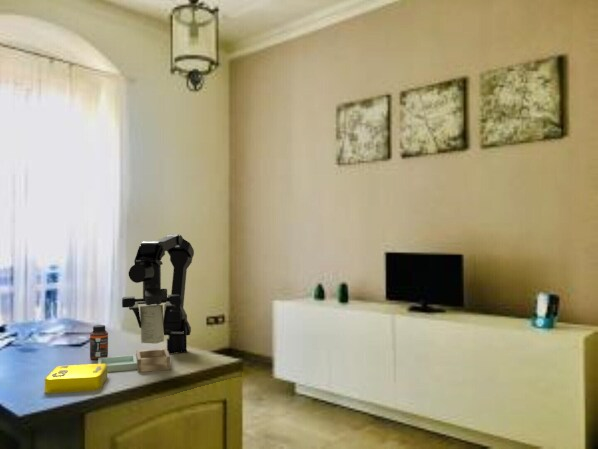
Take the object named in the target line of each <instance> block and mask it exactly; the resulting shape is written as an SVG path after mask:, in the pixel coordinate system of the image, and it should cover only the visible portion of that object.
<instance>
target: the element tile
mask: <svg viewBox="0 0 598 449" xmlns="http://www.w3.org/2000/svg"><path fill="white" fill-rule="evenodd" d="M107 380H108V372H107V365H106V364H98V363H90V364H88V363H87V364H71V365H58V366H56V367H55V368H54V369H52V370H51V372H49V374H48V375H47V376H46V377H45V378H44V393H45V394H61V393H63V394H65V393H78V392H79V391H81V392H92V391H93V390H94V391H98V389H99V390H100V388H101V389H102V388H103V386H104V384H105V383H104V382H106V381H107ZM64 392H65V393H64Z"/></svg>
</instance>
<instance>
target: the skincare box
mask: <svg viewBox="0 0 598 449" xmlns="http://www.w3.org/2000/svg"><path fill="white" fill-rule="evenodd" d="M139 314H140V321H141V328H140V342H141V344H160V343H163V342H164V341H165V339H164V338H165V335H164V328H163V316H164V306H163V304H159V305H157V304H151V305H146V304H142V305H140V306H139Z"/></svg>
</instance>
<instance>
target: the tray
mask: <svg viewBox="0 0 598 449" xmlns="http://www.w3.org/2000/svg"><path fill="white" fill-rule="evenodd" d="M97 364H106V365H107V373H109V372H120V371H121V372H122V371H132V370H137V359H136V354H130V355H129V354H128V355H119V356H117V355H116V356H108V357H102V358H98V360H97Z"/></svg>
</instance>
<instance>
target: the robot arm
mask: <svg viewBox="0 0 598 449" xmlns="http://www.w3.org/2000/svg"><path fill="white" fill-rule="evenodd" d="M194 251H195V250H194V248H193V246H192V244H191V243H190V242H189V241H187V240H186V239H184V238H183V235H181V234H176V233H175V234H167V235H166V236H164V237H162V238H159V239H157V240H155V241H152V240H151V241H142V242H141V243H140V245H139V246H138V249H137V252H136V255H135V258H134V261H133V262H134V265H132V266H131V267H130V269H129V270H128V277H129V280H130V281H132V282H133V283H135V284H138V283H142V297H141V298H136V297H135V296H134V295H133V296H123V297H122V298H121V308H128V310H129V311H130V310H131V311H132V312H133V314H134V315H135V318H136V321H137V325H138V327H139V329H141V317H140V306H139V305H162V304H164V306H163V328H164V336H168V338H166V349H167V351H168V353H169V355H170V354H180V353H181V354H182V353H188V350H187V343H188V342H187V338H188V336H190V335H191V332H192V330H191V329H192V327H191V325H190V323H189V321H188V315H187V313H186V310H185V309H184V303H185V294H186V292H185V291H186V281H187V271H188V270H187V269H188V268H189V266H190V265H191V264H192V262H193V258H194V254H195V252H194ZM166 252H167V254H168V255H169V261H170V263H171V265H172V267H173V271H172V272H173V273H172V282H171V283H172V284H171V292H170V293H171V294H168V289H167V288H162V287H161V286H162V277H161V276H162V272H161V271H162V270H161V266H162V265H163V261H162V258H163V257H165V255H166Z"/></svg>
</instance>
